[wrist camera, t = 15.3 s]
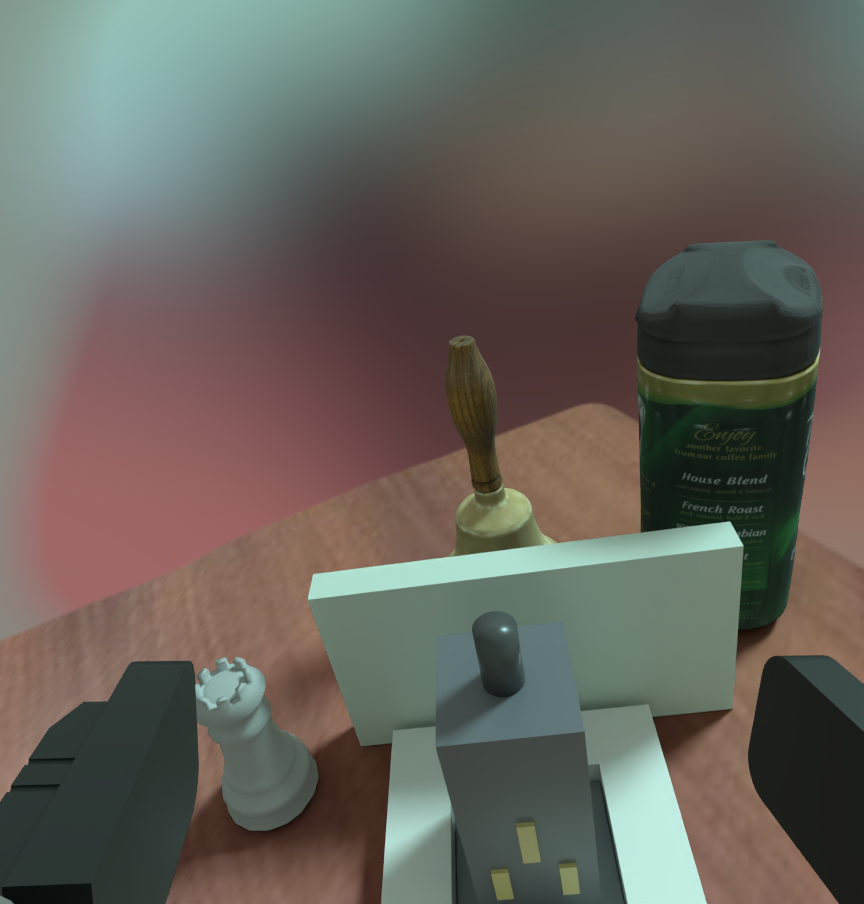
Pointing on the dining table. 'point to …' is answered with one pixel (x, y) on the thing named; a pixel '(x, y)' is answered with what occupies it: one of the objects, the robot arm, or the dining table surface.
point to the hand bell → (484, 461)
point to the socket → (595, 673)
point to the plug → (517, 762)
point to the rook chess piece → (253, 748)
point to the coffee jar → (730, 403)
